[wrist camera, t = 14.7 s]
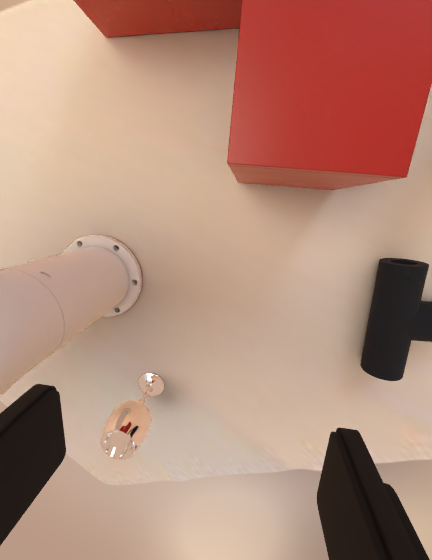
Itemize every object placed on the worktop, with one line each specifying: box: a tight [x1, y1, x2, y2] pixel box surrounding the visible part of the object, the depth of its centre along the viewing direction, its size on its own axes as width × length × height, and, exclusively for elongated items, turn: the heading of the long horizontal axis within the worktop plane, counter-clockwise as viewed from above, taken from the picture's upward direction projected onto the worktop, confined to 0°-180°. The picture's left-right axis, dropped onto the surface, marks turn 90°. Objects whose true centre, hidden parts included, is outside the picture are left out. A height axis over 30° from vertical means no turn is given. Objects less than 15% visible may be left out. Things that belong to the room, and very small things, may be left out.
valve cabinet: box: [227, 0, 432, 190], centre depth 24 cm, size 12×17×17 cm
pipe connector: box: [361, 258, 432, 381], centre depth 35 cm, size 12×5×15 cm
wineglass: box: [100, 373, 164, 460], centre depth 40 cm, size 6×6×12 cm
